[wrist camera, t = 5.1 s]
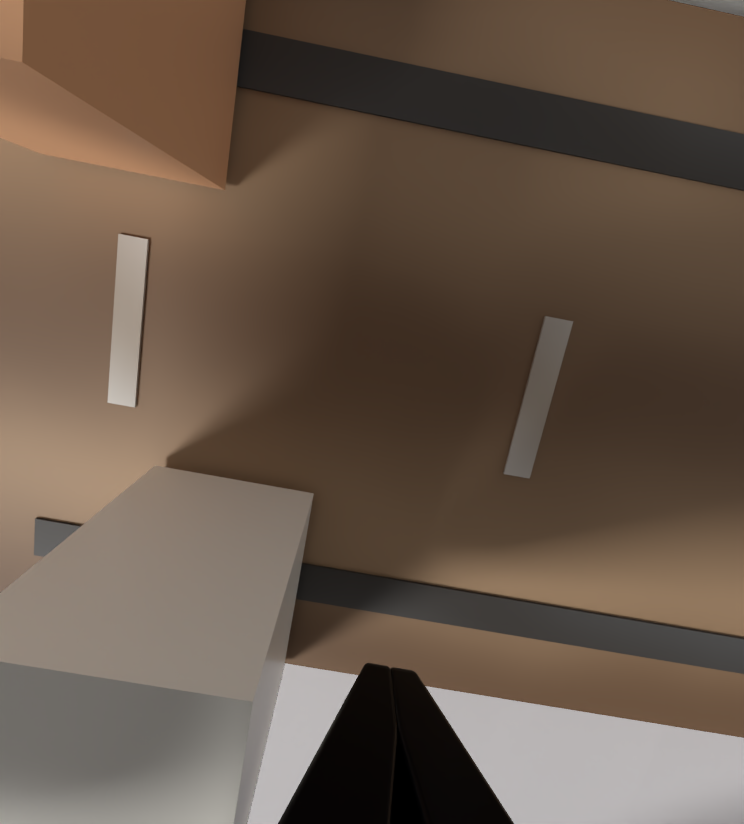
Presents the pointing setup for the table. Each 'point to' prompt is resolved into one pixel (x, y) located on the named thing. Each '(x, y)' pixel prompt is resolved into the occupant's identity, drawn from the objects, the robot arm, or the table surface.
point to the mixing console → (426, 341)
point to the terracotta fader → (123, 83)
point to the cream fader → (150, 655)
